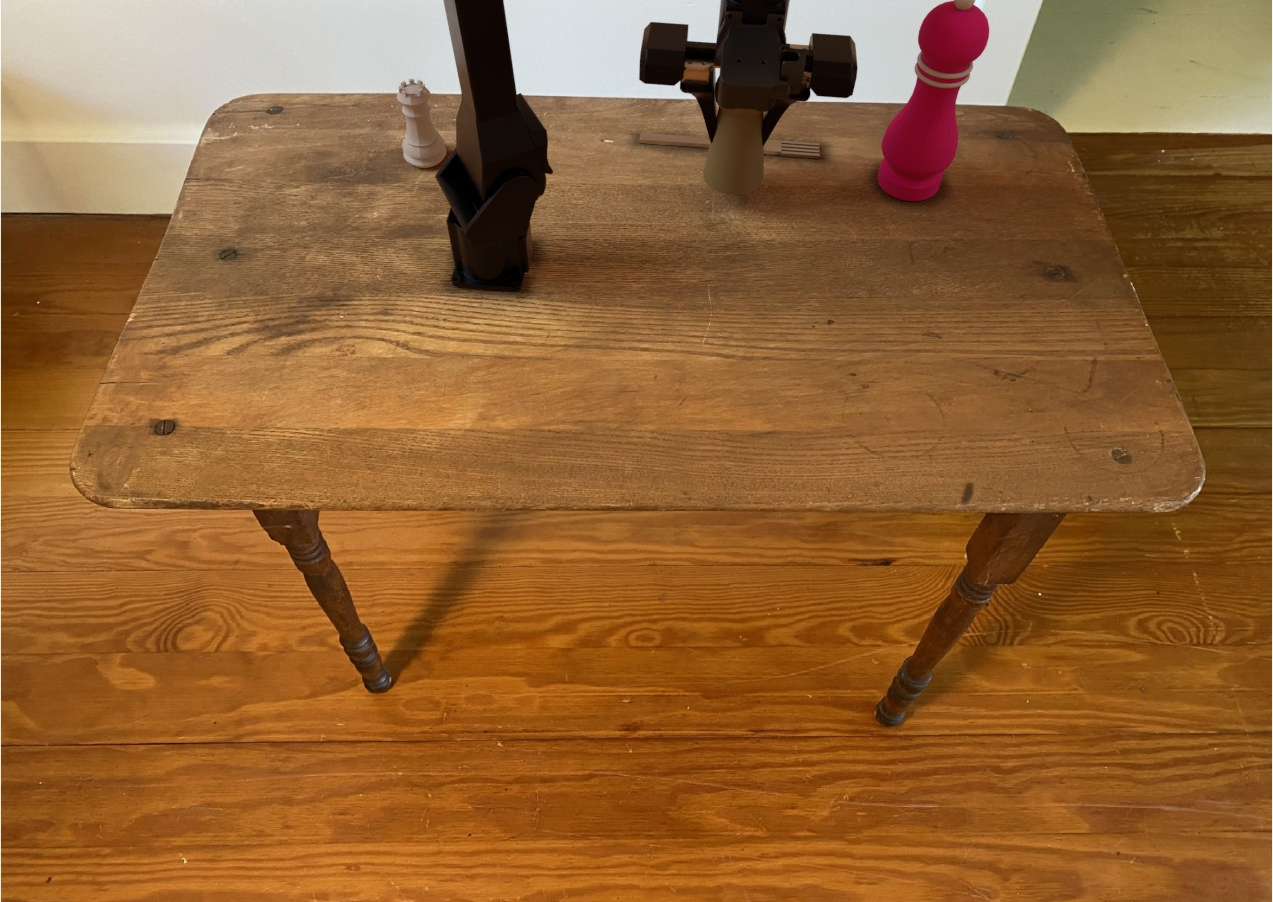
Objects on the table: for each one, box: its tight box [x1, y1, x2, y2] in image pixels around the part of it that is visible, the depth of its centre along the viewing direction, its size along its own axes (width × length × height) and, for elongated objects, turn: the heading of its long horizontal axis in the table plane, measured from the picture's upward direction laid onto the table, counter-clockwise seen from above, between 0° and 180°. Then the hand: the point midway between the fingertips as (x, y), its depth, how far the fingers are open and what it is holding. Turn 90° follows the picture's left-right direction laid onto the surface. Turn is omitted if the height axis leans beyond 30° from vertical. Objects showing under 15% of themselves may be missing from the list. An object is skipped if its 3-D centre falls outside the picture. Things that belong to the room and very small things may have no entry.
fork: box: [639, 132, 821, 160], centre depth 97 cm, size 19×2×1 cm, turn 85°
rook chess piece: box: [396, 78, 447, 169], centre depth 92 cm, size 4×4×8 cm
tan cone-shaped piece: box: [702, 74, 765, 196], centre depth 86 cm, size 6×6×11 cm
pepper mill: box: [877, 0, 990, 202], centre depth 86 cm, size 7×7×20 cm
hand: (736, 142), depth 88 cm, fingers closed on tan cone-shaped piece, 4 cm apart
